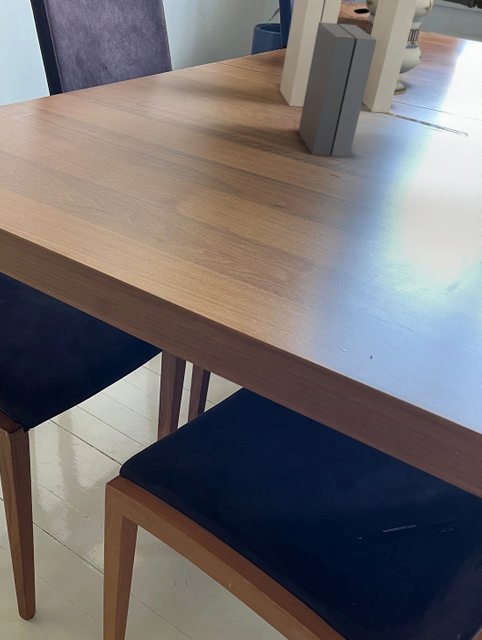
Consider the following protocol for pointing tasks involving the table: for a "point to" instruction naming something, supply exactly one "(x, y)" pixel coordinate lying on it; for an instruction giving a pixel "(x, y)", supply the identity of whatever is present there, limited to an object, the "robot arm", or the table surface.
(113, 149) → the table surface
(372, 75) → the white book
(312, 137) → the grey books
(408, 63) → the apothecary jar
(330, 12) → the white books
